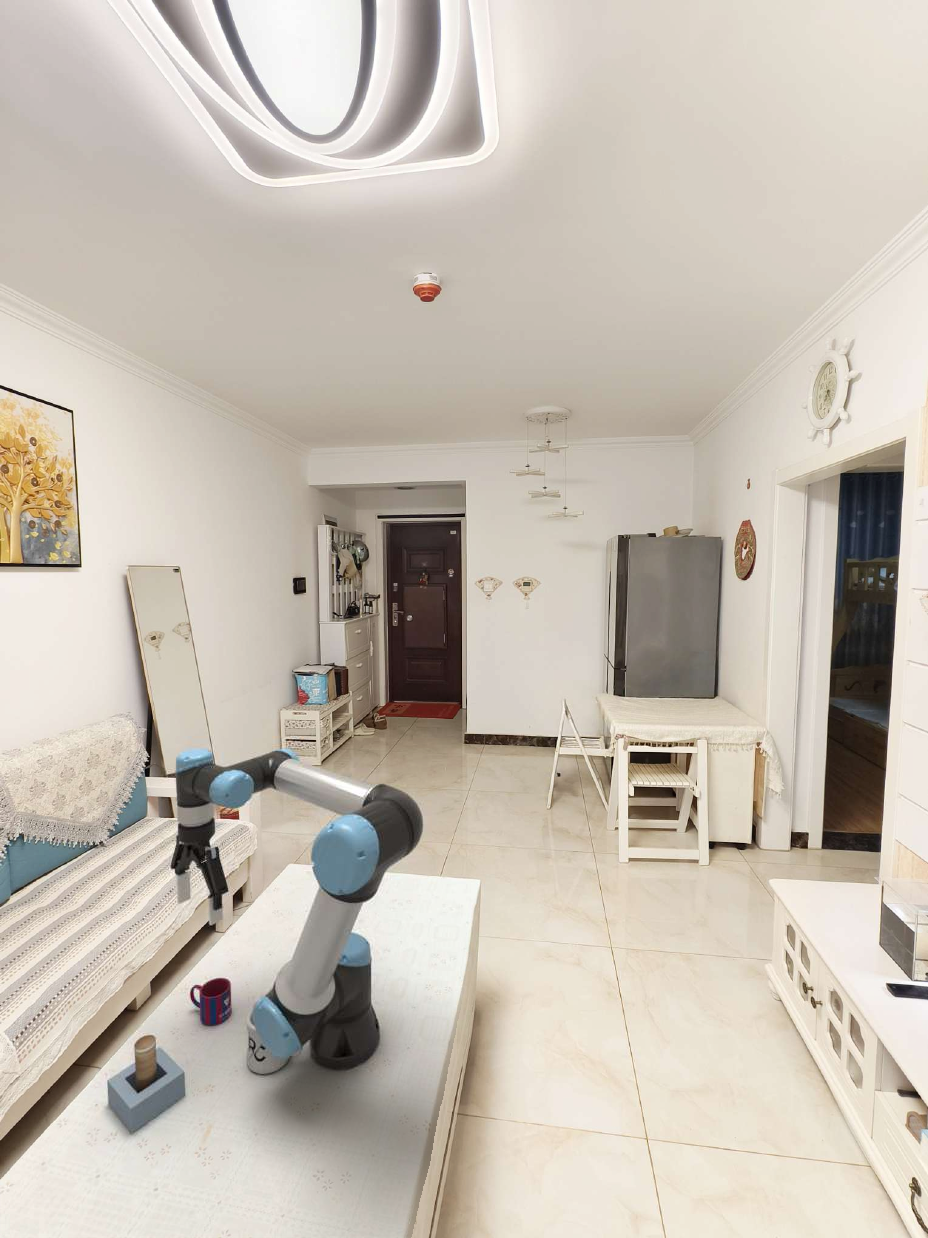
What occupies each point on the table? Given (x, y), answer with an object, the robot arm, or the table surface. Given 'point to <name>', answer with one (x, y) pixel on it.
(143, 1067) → the dowel
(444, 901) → the table surface
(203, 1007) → the cup
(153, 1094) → the socket block
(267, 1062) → the mug
